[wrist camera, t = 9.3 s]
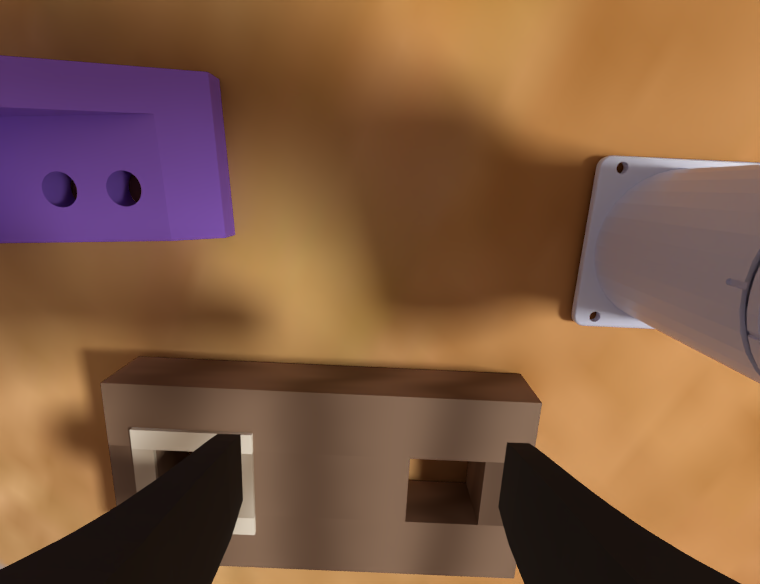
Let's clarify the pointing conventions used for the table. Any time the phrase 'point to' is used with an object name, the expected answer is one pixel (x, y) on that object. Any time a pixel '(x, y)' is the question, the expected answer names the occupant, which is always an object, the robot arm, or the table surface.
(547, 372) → the table surface
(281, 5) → the table surface
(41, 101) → the bracket
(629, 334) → the table surface
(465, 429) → the board
